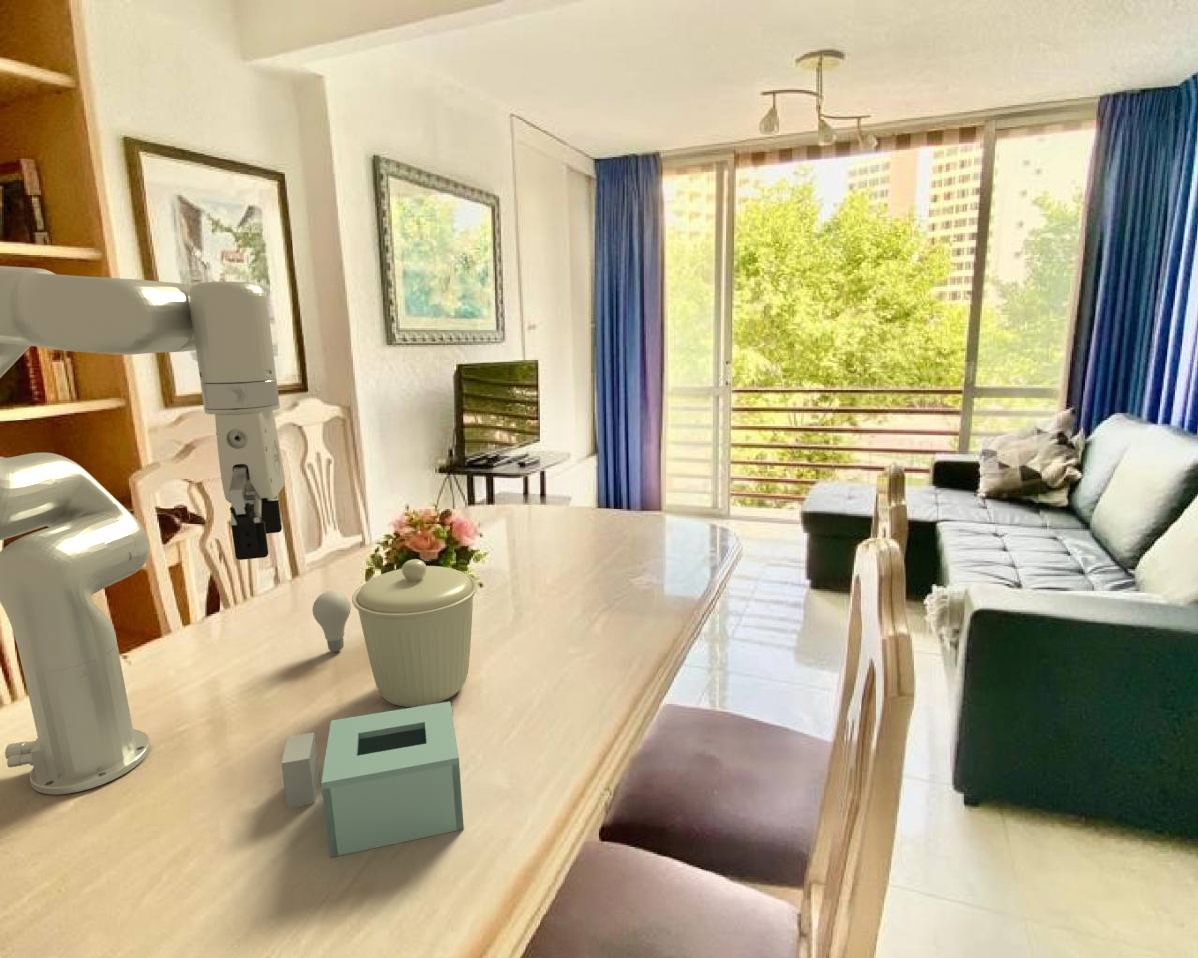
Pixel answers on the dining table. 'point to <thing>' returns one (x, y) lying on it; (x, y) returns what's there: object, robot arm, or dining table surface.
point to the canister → (417, 631)
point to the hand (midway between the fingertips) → (260, 544)
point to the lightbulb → (332, 617)
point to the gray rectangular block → (300, 770)
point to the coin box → (391, 778)
